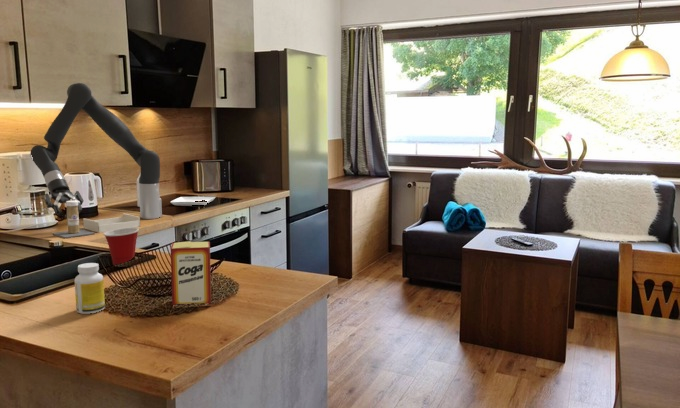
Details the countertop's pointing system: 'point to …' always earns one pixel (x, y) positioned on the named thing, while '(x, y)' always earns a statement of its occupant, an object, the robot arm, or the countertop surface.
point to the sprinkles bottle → (72, 217)
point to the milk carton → (138, 192)
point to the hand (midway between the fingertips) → (70, 212)
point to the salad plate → (191, 201)
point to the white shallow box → (112, 223)
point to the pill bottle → (89, 289)
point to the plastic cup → (122, 244)
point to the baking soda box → (190, 272)
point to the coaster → (67, 235)
